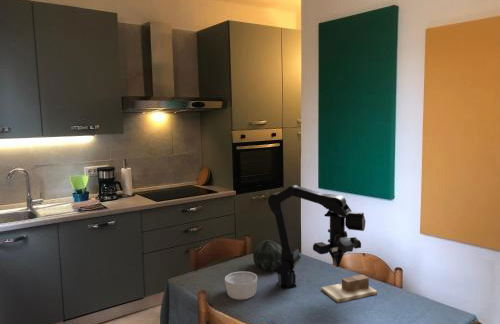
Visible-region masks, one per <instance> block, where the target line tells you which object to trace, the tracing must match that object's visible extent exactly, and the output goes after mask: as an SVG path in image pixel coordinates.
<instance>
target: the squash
mask: <svg viewBox="0 0 500 324" xmlns="http://www.w3.org/2000/svg"><path fill="white" fill-rule="evenodd" d="M281 252H282V247H281V244H279V243H276V242H275V241H274V240H271V239H266V240H263V241H261V242H260V243H258V244H257V245H256V246H255V247H254V249H253V252H252V254H253V256H252V258H253V259H252V261H253V263H254V264H255V266H256V267H258V268H259V269H262V270H263V271H265V272H266V271H268V270H269V271H270V272H272V271H274V270H276V268H277V267H279V266H280V265H281Z"/></svg>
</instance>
